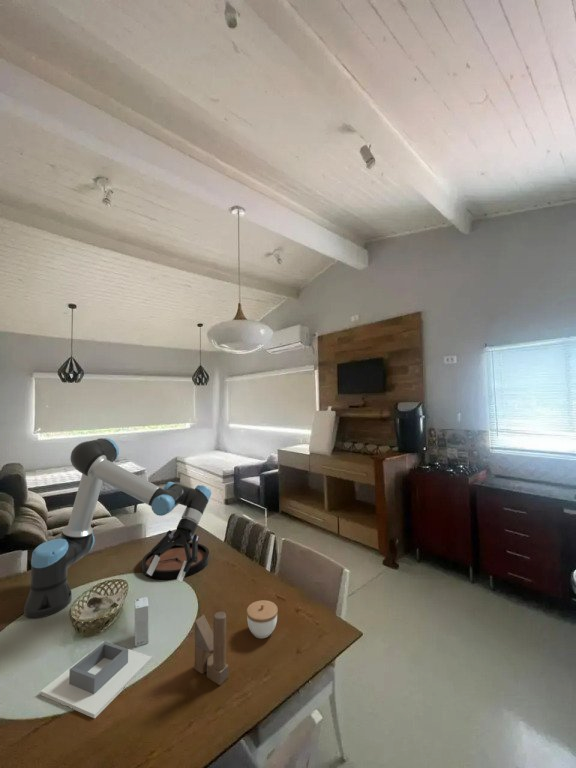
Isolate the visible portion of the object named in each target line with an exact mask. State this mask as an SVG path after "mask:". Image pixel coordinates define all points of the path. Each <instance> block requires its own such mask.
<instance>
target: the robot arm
mask: <svg viewBox="0 0 576 768" xmlns="http://www.w3.org/2000/svg"><path fill="white" fill-rule="evenodd" d="M119 454H120V448H119V446H118V444H117V443H116V441H114V440H113V439H111V438H107V437H106V438H104V437H101V438H97V439H94V440H93V439H92V440H85V441H83V442H80V443H78V444H77V445H76V446H75V447H74V448H73V449H72V451H71V453H70V463H71V465H72V466H73V468H74V469H76V471H77V472H79V473H81V474H82V475H81V478H80V482H79V484H78V485H79V486H78V489H77V491H76V495H75V499H74V502H73V507H72V510H71V512H70V513H71V514H70V516H69V520H68V524H67V525H66V526H64V527H63V528H62V531H61V534H60V537H59V538H55V539H54V538H53V539H50V540H49V541H44V542H42V543H41V544H39V545H38V546H37V547H35V549H33V551H32V552H31V553H32V554H31V559H30V564H31V565H30V566H31V567H30V591H29V593H28V596H27V599H26V602H25V604H24V606H23V607H24V608H23V614H24V616H25V617H27V618H30V619H37V618H43V617H44V618H45V617H47V616H52V615H54V614H56V613H58V612H60V611H61V610H63V609H65V608H66V607H68V606H69V604H71V602H72V590H71V588H70V585H69V582H68V569H69V568H70V567H71V566H73V565H74V564H76V563H77V562H78V561H80V560H81V559H82V558H84V557H86V556H87V555H88V554H89V553H90V552H91V550H92V549H93V547H94V545H95V535H94V533H93V532H94V529H93V528H92V526H91V525H92V521H93V517H94V515H95V511H96V507H97V504H98V500H99V495H100V492H101V488H102V485H103V483H106V484H108V485H110V486H112V487H113V488H116V489H117V490H119V491H121V492H123V493H125V494H127V495H128V496H131V497H133V498H135V499H136V500H138V501H140V502H143V504H146V505H148V506H150V508H151V511H152V512H153V514H155V516H156V515H157V516H159V517H160V516H161V517H163V516H166V515H168V514H169V513H171V512H172V511H173V510H174V509H175V508H176V507H177V506H178V505H181V506H185V509H184V511H183V513H182V515H181V519H179V522H178V524H177V526H176V530H175V531H172V530H168V531H167V532H166V534H165V536H163V538H162V539H160V540H159V541H158V543H157V544H155V545H154V546H153V548H152V549H151V550H150V551H151V552H152V553H153V554H154V556H153V558H152V560H151V562H150V564H151V565H150V567H149V569H148V571H147V574H148V575H150V576H152V574H153V572H154V570H155V568H156V566H157V564H158V562H159V560H160V557H159V556H160V555H162V554H163V553H164V552H166V551H167V550H168V549H170V548H171V547H172V546H175V545H177V546H184V549H185V553H186V558H187V559H186V560H187V561H184V563H183V566H182V568H181V570H180V573H179V575H178V577H177V579H176V580H175V581H178V582H179V583H183V580H184V576H185V573H186V572H188V570H189V568H190V566H191V564H192V563H194V562H195V563H196V562H197V561H198V544H199V541H200V537H199V536H198V535H197V534H195V533H196V530H197V528H198V525H199V523H200V521H201V518H202V517H203V515H204V512H205V510H206V507H207V505H208V503H209V500H210V498H211V495H212V490H211V489H210V488H209V487H208V486H206V485H204V484H203V485H201V484H198V485H197V486H195V487H194V488H192V487H189V486H186V485H182V484H180V483H178V482H172V481H168V482H167V483H166V484H165V486H164V487H163V488H162V487H160V486H158V485H156V484H154V483H152V482H150V481H148V480H146V479H145V478H143V477H141V476H139V475H137V474H135V473H133V472H131V471H129V470H127V469H126V468H124V467H122V466H119V465H118V464H116V463H115V461H117V460H118V457H119ZM189 542H192V556H191V551H190V545H189Z"/></svg>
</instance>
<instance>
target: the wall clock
mask: <svg viewBox="0 0 576 768" xmlns="http://www.w3.org/2000/svg"><path fill="white" fill-rule="evenodd" d="M189 545H190V551H191V556H192V541H189ZM153 556H154V554H153V553H152V552H151V550H150V551H149V552H148V553H146V554H145V555H144V556H143V558H142V560H141V572H142V574H143V575H144V576H145V577H146V578H148V579H151V580H153V581H154V580H155V581H164V582H165V581H167V582H168V581H177V580H176V579H177V577H178V575H179V573H180V570H181V568H182V566H183V563H184V561H187V560H186V559H187V558H186V553H185V549H184V546H177V545H175V546H172V547H171V548H170V549H168V550H167V551H166V552H164V553H163V554H162V555H160V556H159V557H160V560H159V562H158V564H157V566H156V568H155V570H154V572H153V574H152V576H150V575H148V574H147V571H148V569H149V567H150V565H151V564H150V562H151V560H152V558H153ZM209 562H210V550H209V548H208V547H207V546H205V545H204V544H201V543H198V561H197V562H196V563H195V562H194V563H192V564H191V566H190V568H189V570H188V572H186V573H185V576H184V578H185V579H186V578H188V577H192V576H194V575H196V574H198V573H199V572H201V571H203V570H204V569H205V568H206V567H207V566H208V565H209ZM184 578H183V579H184Z"/></svg>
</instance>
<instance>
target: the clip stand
mask: <svg viewBox="0 0 576 768" xmlns="http://www.w3.org/2000/svg"><path fill="white" fill-rule="evenodd" d="M152 660H153V656H151V655H148V654H144V653H141V652H139V651H135V650H133V649H132V650H131V649H130V648H127V647H124V646H122V645H121V646H120V645H117V644H114V643H111V642H108V641H106V640H105V641H104V640H103V641H101V642H100V643H99V644H98V645H97V646H96V647H94V648H93V649H92V650H90V651H89V652H88V653H87V654H85V655H84V656H83V657H82V658H80V659H79V660H78V661H76V663H74V664H73V665H72V666H70V667H68V669H67V670H65V671H64V672H63V673H62V674H60V675H59V676H58V677H56V678H55V679H53V681H51V682H50V683H48V684H47V685H46V686H45V687H44V688H43V689H41V690H40V696H43V697H45V698H47V699H48V700H49V699H50V700H51V701H54V702H56V703H58V704H60V703H61V705H63V706H65V705H67V706H69V707H72V708H73V709H72V708H71V709H72V710H74V709H75V710H74V711H76V712H79V713H80V714H83V715H86V716H88V717H90V718H93V719H94V720H95V719H96V718H97V717H98V716H99V715H100V714H101V713H102V712H103V711H104V710H105V709H106V708H107V707H108V706H109V705H110V704H111V702H112V701H113V700H115V699H116V698H117V696H119V694H121V692H123V690H124V689H125V688H126V687H127V686H128V685H129V684H130V683H132V681H133V680H134V679H135V678H136V677H137V676H138V675H140V673H142V671H143V670H144V669H145V668H146V667H147V666H148V665H149V664H150V663H151V662H152ZM126 685H127V686H126ZM125 686H126V687H125ZM124 687H125V688H124ZM123 688H124V689H123ZM67 706H66V707H67ZM69 707H68V708H69Z"/></svg>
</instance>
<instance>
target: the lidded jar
mask: <svg viewBox="0 0 576 768" xmlns="http://www.w3.org/2000/svg"><path fill="white" fill-rule="evenodd" d="M278 609H279V608H278V606H277V605H276V604H275V602H273V601H271V600H265V599H264V600H263V599H261V600H256V601H254V602H252V603H250V604H249V605H248V607H247V608H246V619H247V626H248V629H249V631H250V632H251V634H252V635H253V636H254V638H255V637H256V638H257V639H265V638H268V637H270V635H271V634H272V633H273V632H274V631H275V628H276V626H277V621H278V613H279V612H278Z"/></svg>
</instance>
